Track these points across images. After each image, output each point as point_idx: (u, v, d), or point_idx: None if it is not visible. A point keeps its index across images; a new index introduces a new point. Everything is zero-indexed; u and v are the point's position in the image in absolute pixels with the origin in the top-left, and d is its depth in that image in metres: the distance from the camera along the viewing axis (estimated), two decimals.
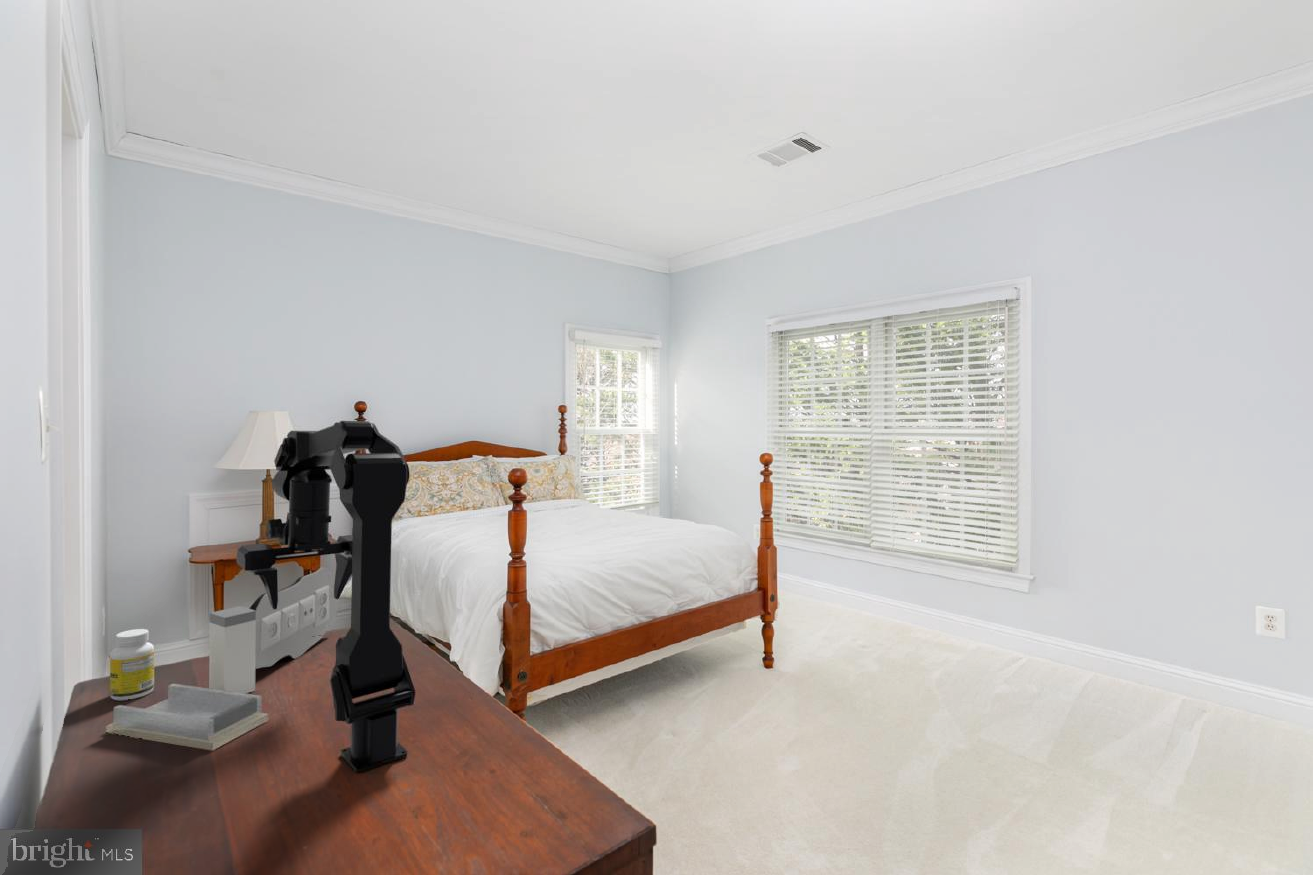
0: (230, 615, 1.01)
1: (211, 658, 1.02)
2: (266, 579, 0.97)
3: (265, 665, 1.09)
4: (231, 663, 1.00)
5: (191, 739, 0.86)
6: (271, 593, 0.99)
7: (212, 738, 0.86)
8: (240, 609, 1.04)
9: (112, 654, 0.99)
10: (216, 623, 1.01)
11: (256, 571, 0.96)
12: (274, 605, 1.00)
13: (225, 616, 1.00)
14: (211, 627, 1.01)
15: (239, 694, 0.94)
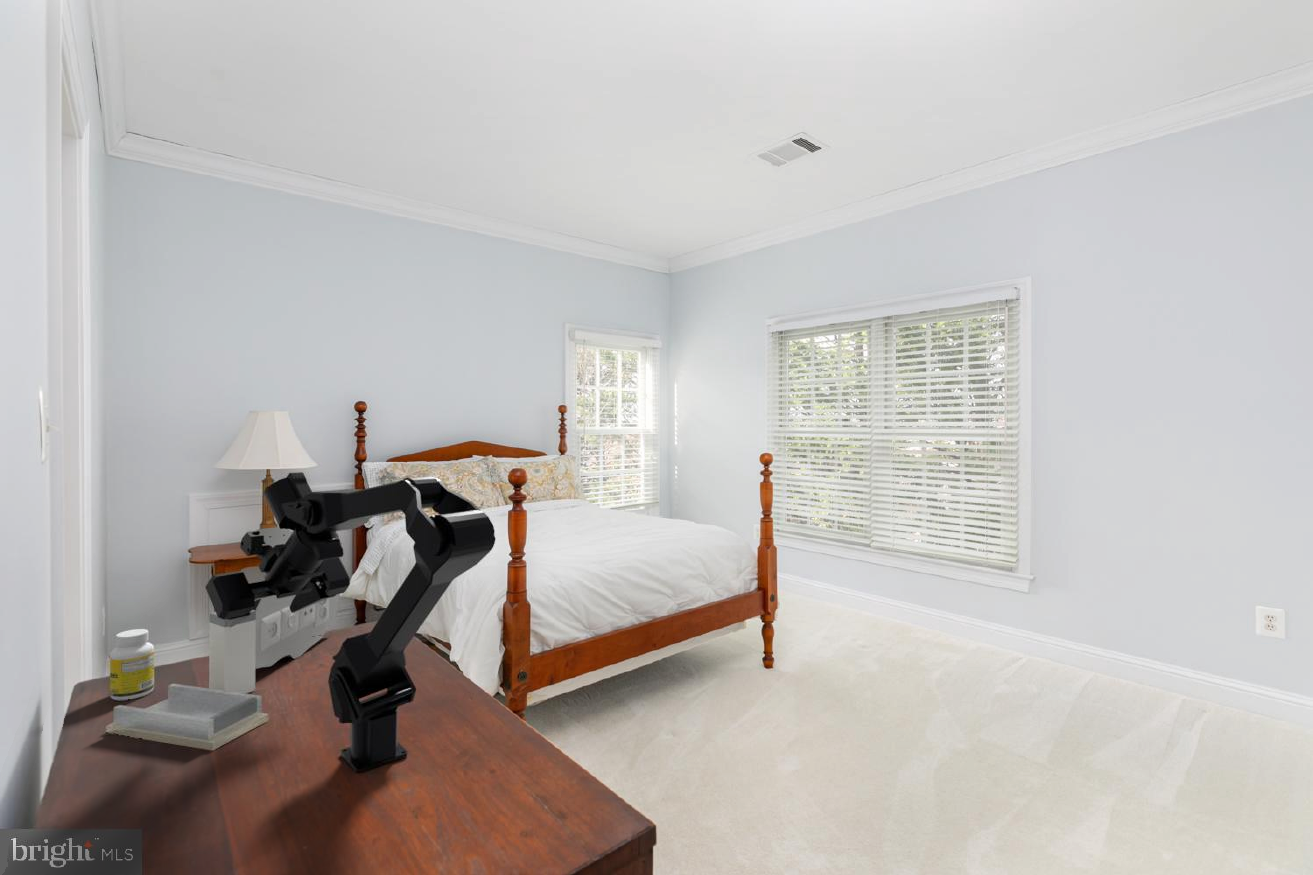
0: None
1: (211, 658, 1.02)
2: (235, 620, 0.90)
3: (265, 665, 1.09)
4: (231, 663, 1.00)
5: (191, 739, 0.86)
6: (234, 623, 0.92)
7: (212, 738, 0.86)
8: None
9: (112, 654, 0.99)
10: (216, 623, 1.01)
11: None
12: (231, 626, 0.94)
13: None
14: (211, 627, 1.01)
15: (239, 694, 0.94)
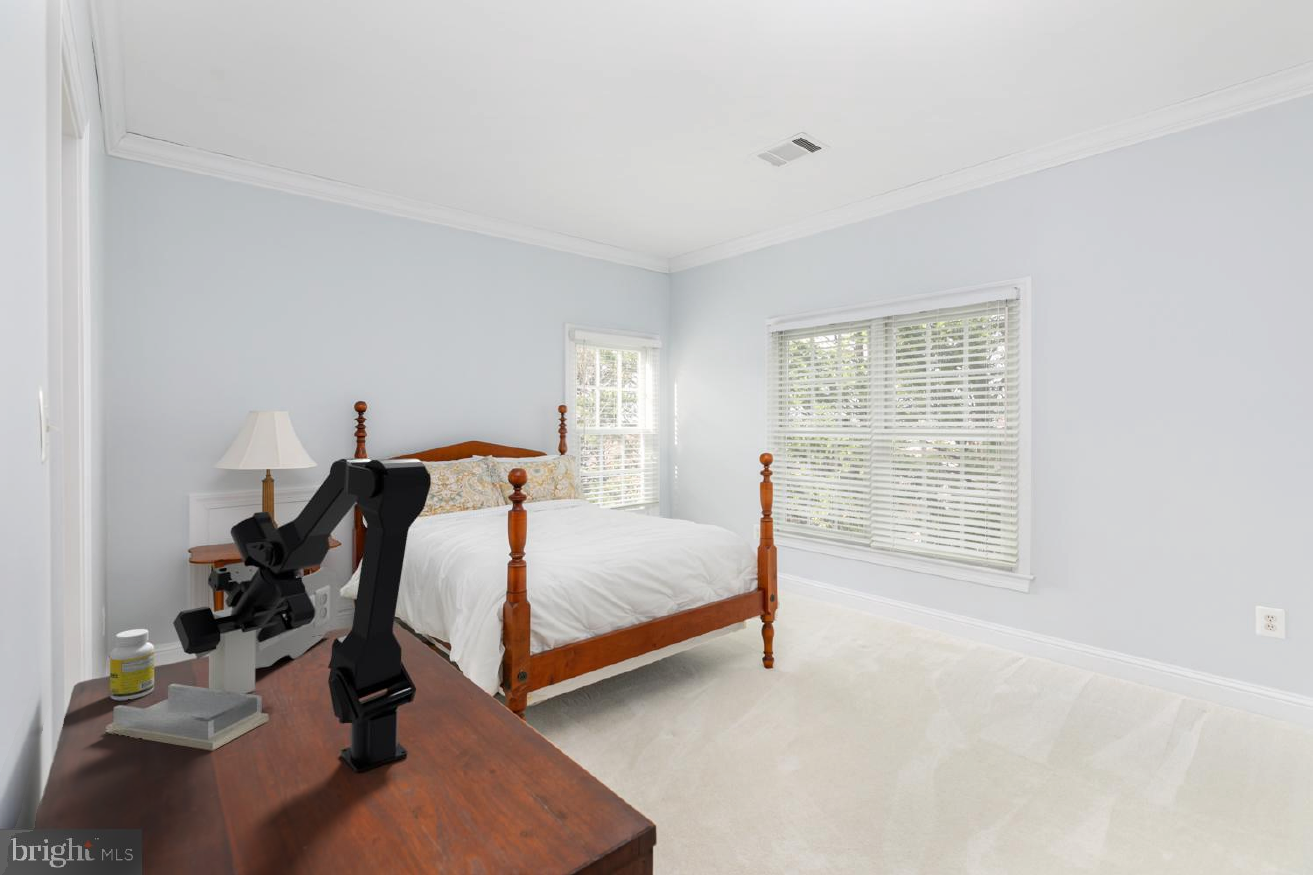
0: None
1: (211, 658, 1.01)
2: (202, 653, 0.95)
3: (263, 665, 1.09)
4: (231, 663, 1.00)
5: (191, 739, 0.86)
6: (201, 655, 0.97)
7: (212, 738, 0.86)
8: None
9: (112, 654, 0.99)
10: None
11: None
12: (199, 658, 0.99)
13: (225, 616, 1.00)
14: None
15: (239, 694, 0.94)
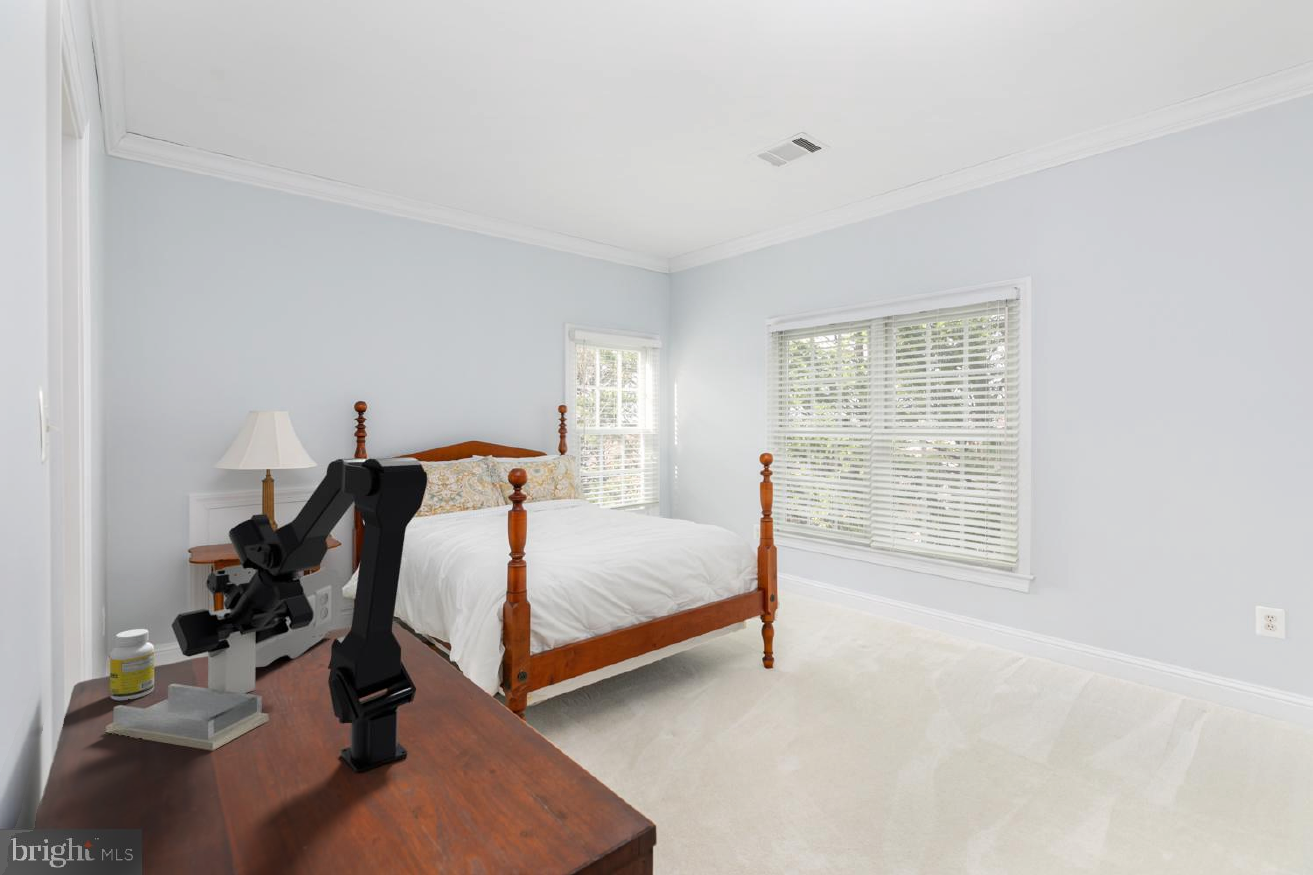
0: None
1: (210, 658, 1.01)
2: (215, 651, 0.97)
3: (259, 665, 1.09)
4: (232, 662, 1.01)
5: (191, 739, 0.86)
6: (214, 654, 0.99)
7: (212, 738, 0.86)
8: None
9: (112, 654, 0.99)
10: None
11: None
12: (212, 656, 1.00)
13: None
14: None
15: (239, 694, 0.94)
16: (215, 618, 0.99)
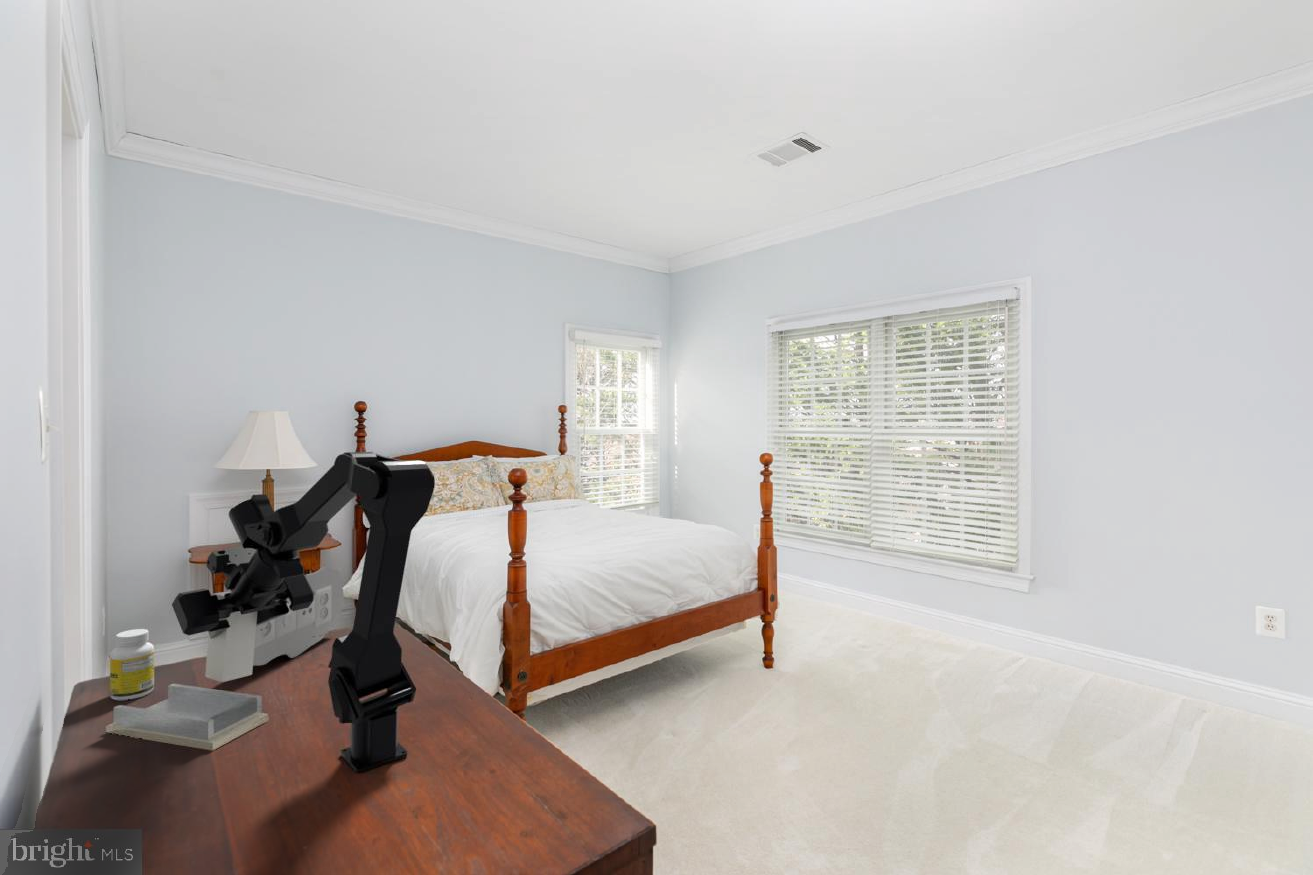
0: None
1: (210, 639, 1.01)
2: (216, 631, 0.97)
3: (257, 663, 1.09)
4: (232, 644, 1.00)
5: (191, 739, 0.86)
6: (215, 634, 0.99)
7: (212, 738, 0.86)
8: None
9: (112, 654, 0.99)
10: None
11: None
12: (212, 637, 1.00)
13: None
14: None
15: (239, 694, 0.94)
16: (215, 598, 0.99)
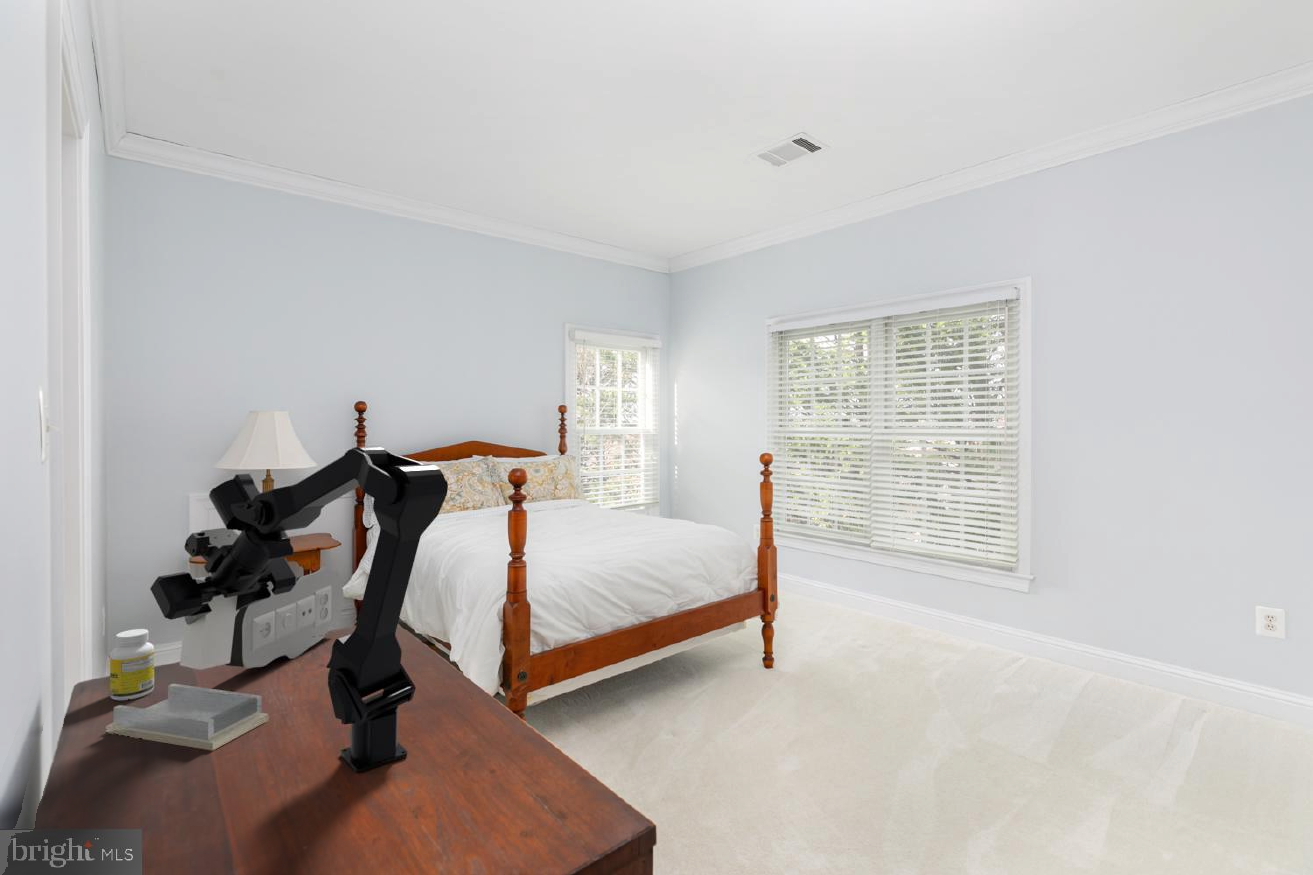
0: None
1: (186, 626, 0.97)
2: (197, 616, 0.93)
3: (257, 665, 1.09)
4: (211, 630, 0.97)
5: (191, 739, 0.86)
6: (193, 620, 0.95)
7: (212, 738, 0.86)
8: None
9: (112, 654, 0.99)
10: None
11: None
12: (190, 623, 0.97)
13: None
14: None
15: (239, 694, 0.94)
16: (194, 582, 0.95)
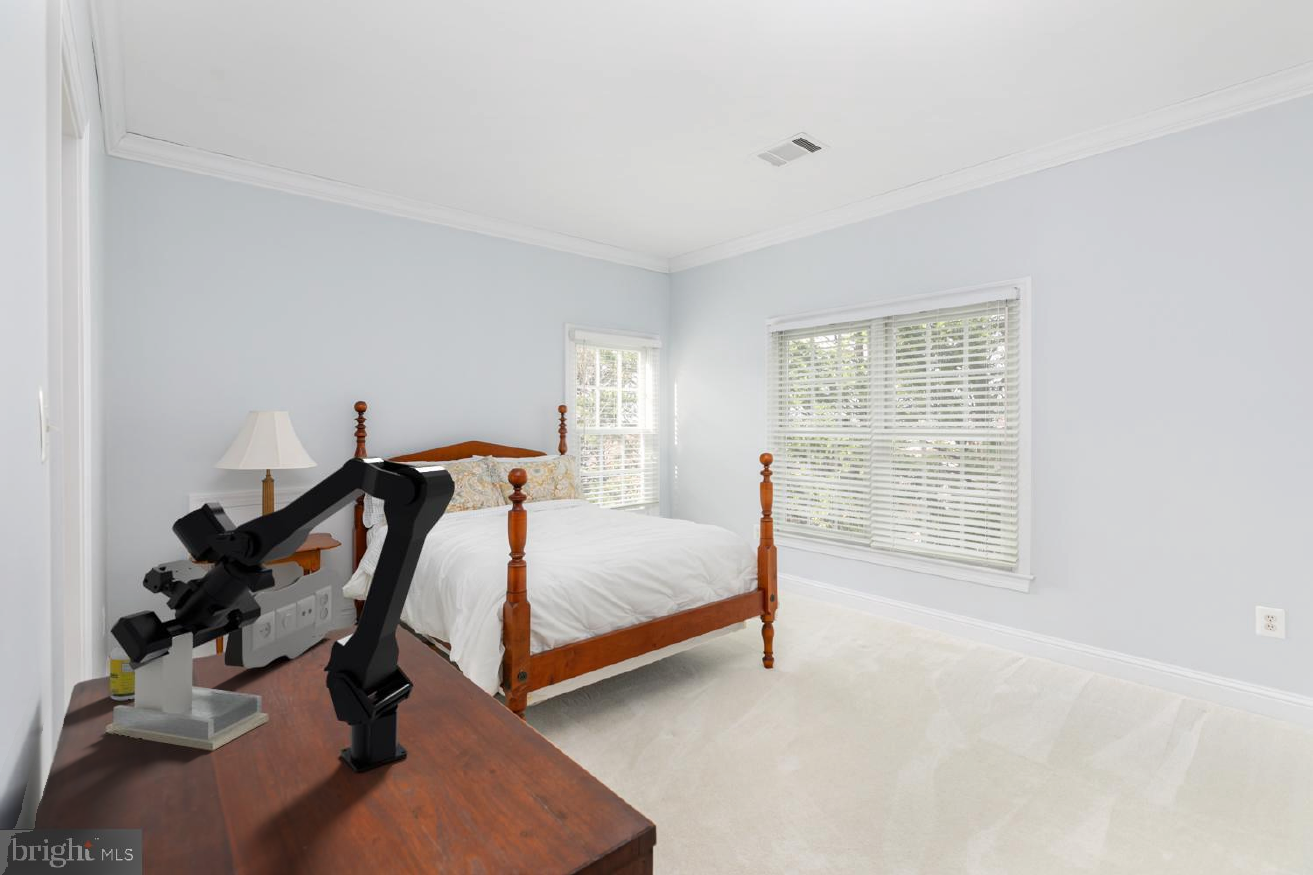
0: None
1: (138, 677, 0.89)
2: (152, 660, 0.85)
3: (257, 665, 1.09)
4: (169, 679, 0.90)
5: (191, 739, 0.86)
6: (144, 664, 0.87)
7: (212, 738, 0.86)
8: (171, 619, 0.93)
9: (112, 654, 0.99)
10: None
11: None
12: (136, 668, 0.88)
13: None
14: None
15: (239, 694, 0.94)
16: None
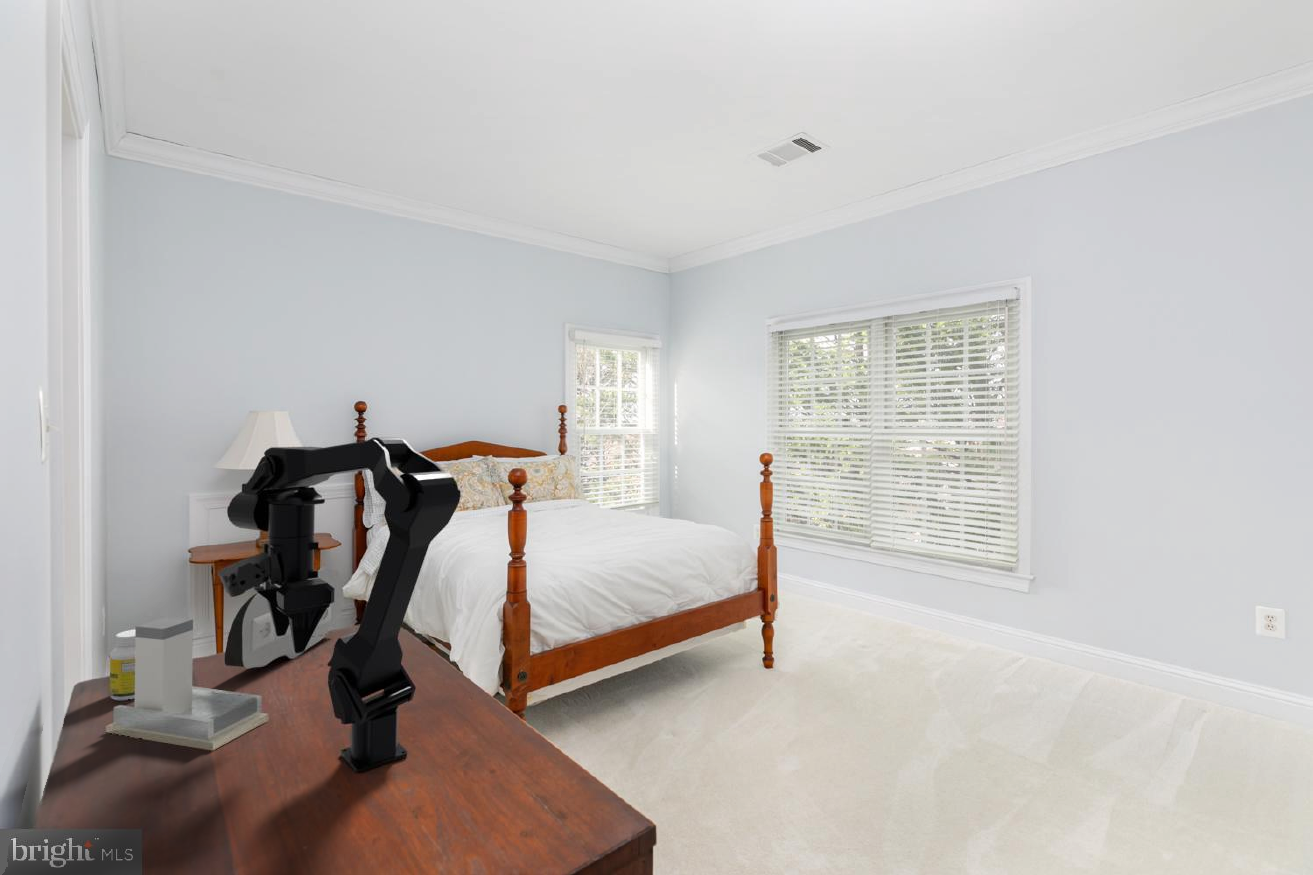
0: (167, 626, 0.90)
1: (138, 677, 0.89)
2: None
3: (257, 665, 1.09)
4: (169, 679, 0.90)
5: (191, 739, 0.86)
6: None
7: (212, 738, 0.86)
8: (171, 619, 0.93)
9: (112, 654, 0.99)
10: (148, 636, 0.89)
11: (326, 603, 0.87)
12: None
13: (162, 627, 0.89)
14: (138, 642, 0.89)
15: (239, 694, 0.94)
16: None
